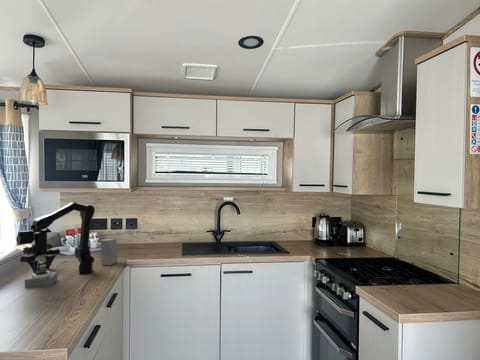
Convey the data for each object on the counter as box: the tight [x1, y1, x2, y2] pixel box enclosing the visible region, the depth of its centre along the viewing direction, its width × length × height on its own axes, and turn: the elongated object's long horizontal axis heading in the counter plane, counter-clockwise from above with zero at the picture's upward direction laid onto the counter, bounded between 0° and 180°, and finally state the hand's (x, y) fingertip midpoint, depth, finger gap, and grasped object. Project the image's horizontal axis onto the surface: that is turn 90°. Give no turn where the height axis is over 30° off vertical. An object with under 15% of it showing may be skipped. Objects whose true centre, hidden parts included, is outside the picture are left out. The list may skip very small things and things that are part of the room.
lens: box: [36, 262, 47, 275], centre depth 167 cm, size 5×5×7 cm
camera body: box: [24, 270, 58, 288], centre depth 167 cm, size 12×9×6 cm
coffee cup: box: [36, 243, 54, 271], centre depth 192 cm, size 9×9×15 cm
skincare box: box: [100, 238, 118, 266], centre depth 204 cm, size 8×7×16 cm
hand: (41, 271), depth 167 cm, fingers open, 7 cm apart
